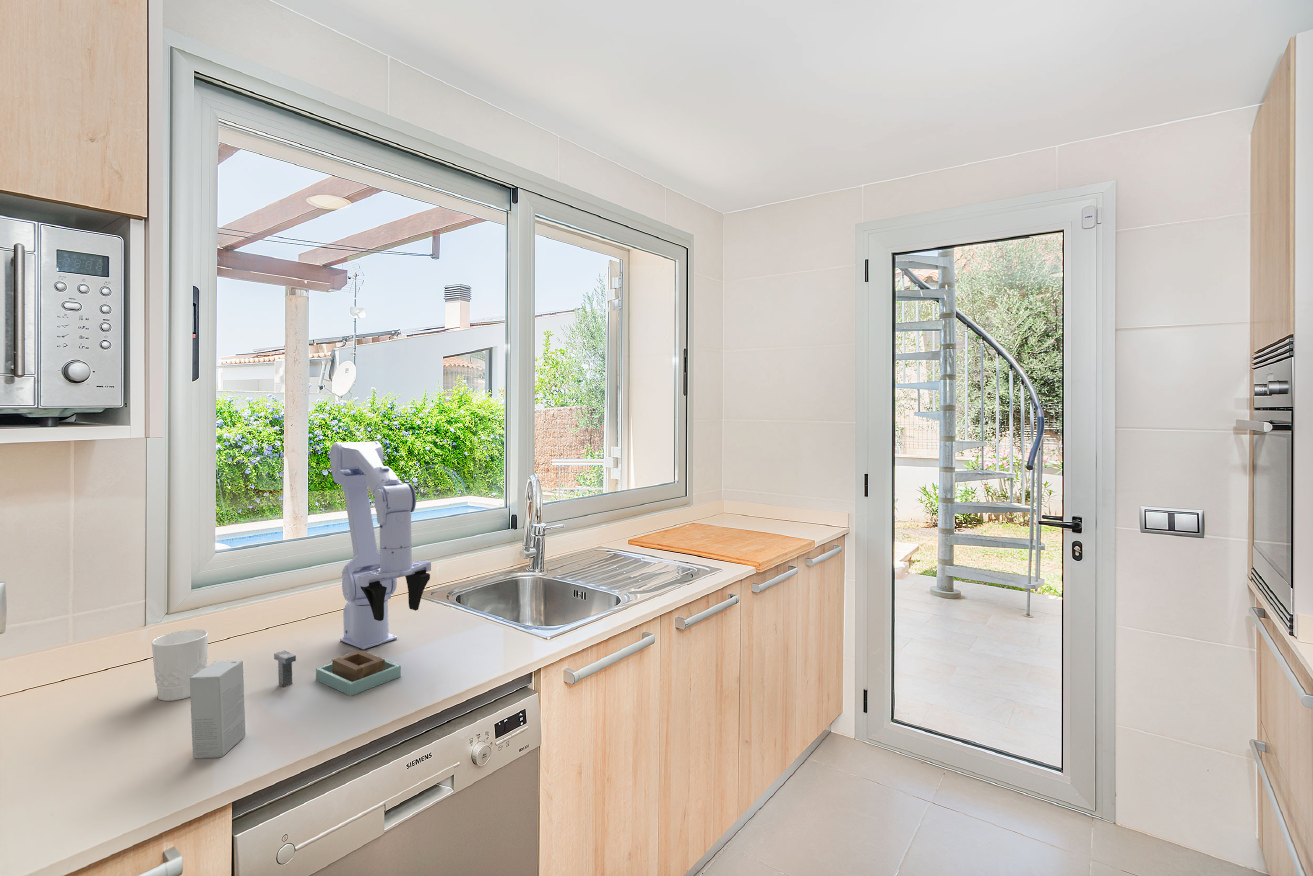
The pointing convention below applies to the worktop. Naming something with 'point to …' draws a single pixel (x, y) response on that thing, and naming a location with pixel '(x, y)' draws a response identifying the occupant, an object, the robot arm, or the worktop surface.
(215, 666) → the skincare box
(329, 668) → the tray
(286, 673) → the t post
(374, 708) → the worktop surface
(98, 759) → the worktop surface
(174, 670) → the white cup
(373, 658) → the frame ring
